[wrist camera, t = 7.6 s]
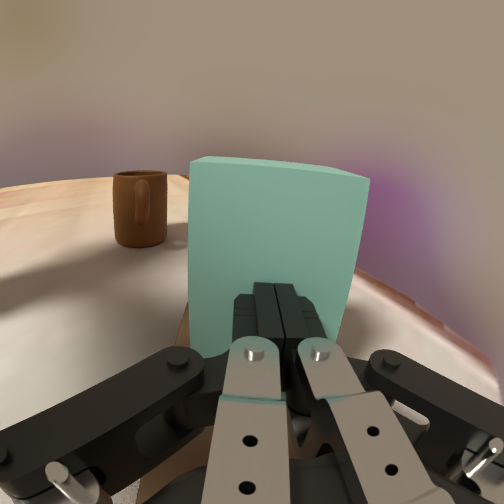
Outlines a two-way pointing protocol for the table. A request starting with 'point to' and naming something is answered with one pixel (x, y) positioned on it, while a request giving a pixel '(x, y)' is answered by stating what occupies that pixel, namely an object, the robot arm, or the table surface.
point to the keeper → (269, 239)
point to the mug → (140, 208)
